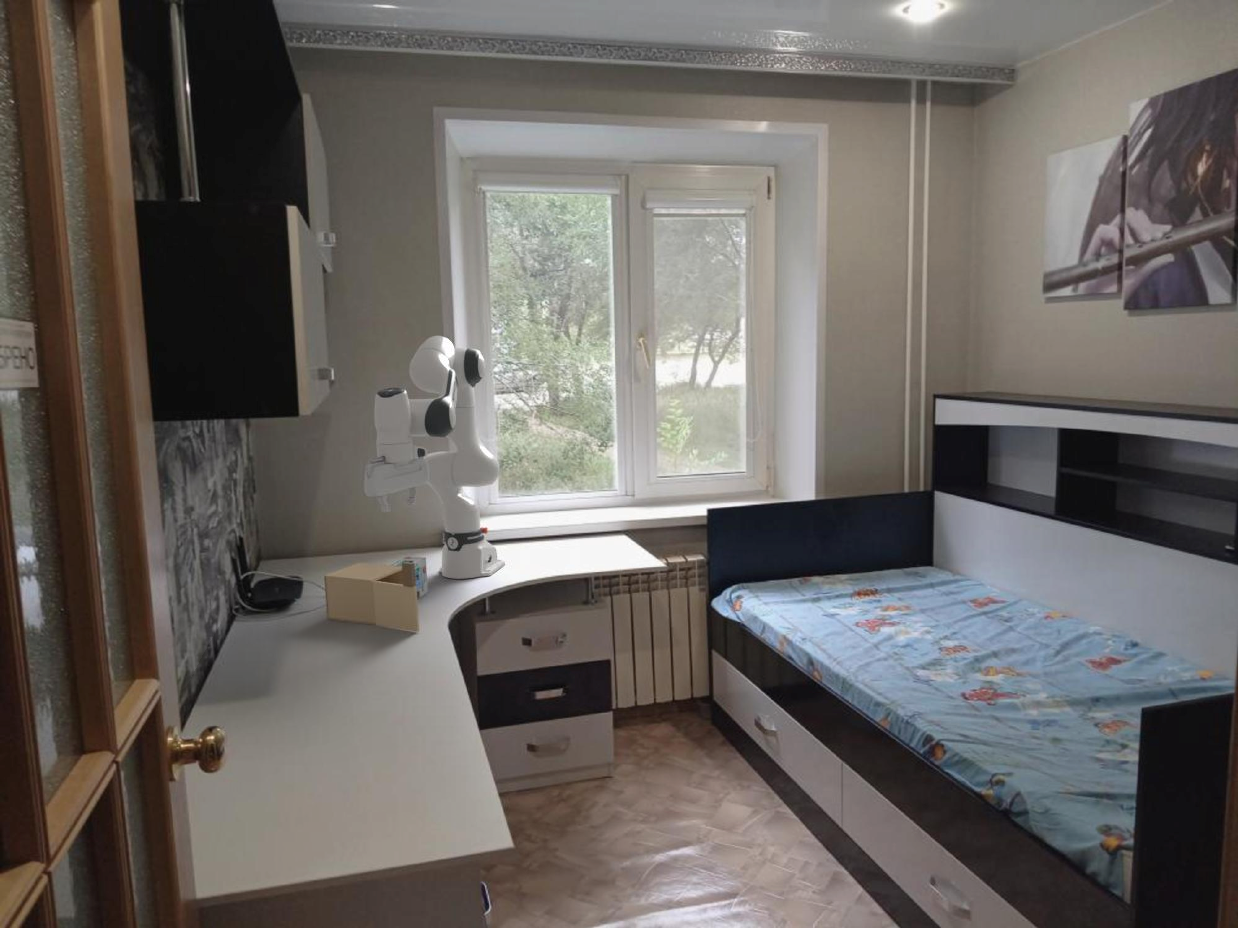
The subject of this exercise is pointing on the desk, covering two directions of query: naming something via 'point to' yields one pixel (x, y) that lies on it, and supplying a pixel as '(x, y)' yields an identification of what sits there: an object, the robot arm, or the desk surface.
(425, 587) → the light bulb box
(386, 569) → the carton
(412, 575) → the side flap
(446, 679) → the desk surface
